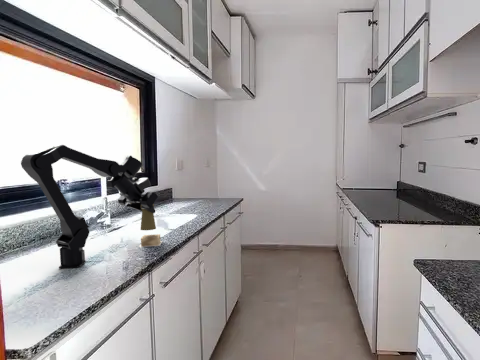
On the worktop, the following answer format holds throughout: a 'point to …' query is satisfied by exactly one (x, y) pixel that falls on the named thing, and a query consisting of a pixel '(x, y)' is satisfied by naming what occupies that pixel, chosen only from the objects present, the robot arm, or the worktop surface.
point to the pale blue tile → (154, 245)
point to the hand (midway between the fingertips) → (150, 212)
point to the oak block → (150, 240)
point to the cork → (147, 220)
